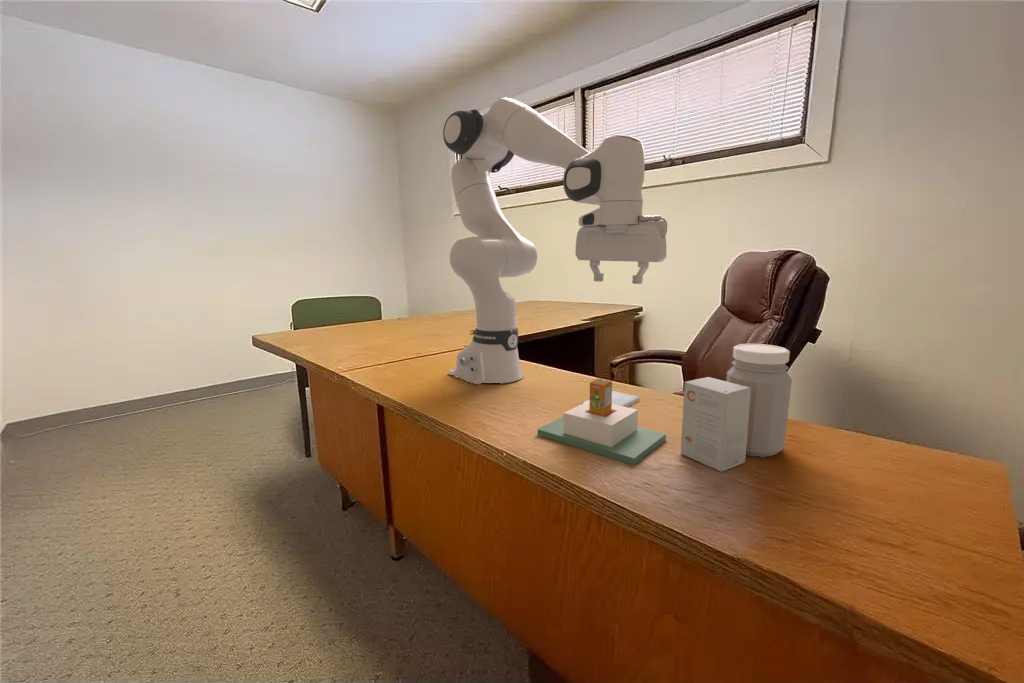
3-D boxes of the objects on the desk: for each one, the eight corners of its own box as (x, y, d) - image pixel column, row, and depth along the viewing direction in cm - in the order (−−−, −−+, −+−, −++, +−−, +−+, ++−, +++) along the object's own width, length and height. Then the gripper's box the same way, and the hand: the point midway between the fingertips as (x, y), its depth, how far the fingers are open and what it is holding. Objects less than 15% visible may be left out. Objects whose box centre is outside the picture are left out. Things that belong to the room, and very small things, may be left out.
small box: (745, 463, 73) (752, 387, 71) (720, 473, 70) (727, 393, 68) (703, 445, 80) (708, 375, 78) (679, 453, 77) (683, 381, 75)
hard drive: (612, 410, 96) (639, 395, 105) (580, 402, 102) (609, 389, 111) (612, 417, 97) (639, 402, 105) (580, 409, 102) (609, 395, 111)
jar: (718, 451, 78) (726, 350, 74) (724, 432, 86) (731, 340, 82) (784, 464, 73) (795, 356, 69) (783, 442, 81) (794, 345, 78)
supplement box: (587, 432, 84) (588, 381, 82) (596, 427, 86) (597, 377, 84) (602, 437, 82) (604, 384, 80) (612, 431, 84) (613, 380, 82)
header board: (537, 434, 86) (537, 409, 85) (574, 416, 96) (574, 392, 95) (634, 465, 73) (635, 435, 72) (665, 439, 83) (667, 413, 82)
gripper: (674, 215, 90) (669, 284, 93) (588, 219, 104) (586, 279, 106) (661, 214, 86) (656, 286, 88) (572, 218, 99) (570, 281, 102)
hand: (617, 282), depth 98 cm, fingers open, 8 cm apart
